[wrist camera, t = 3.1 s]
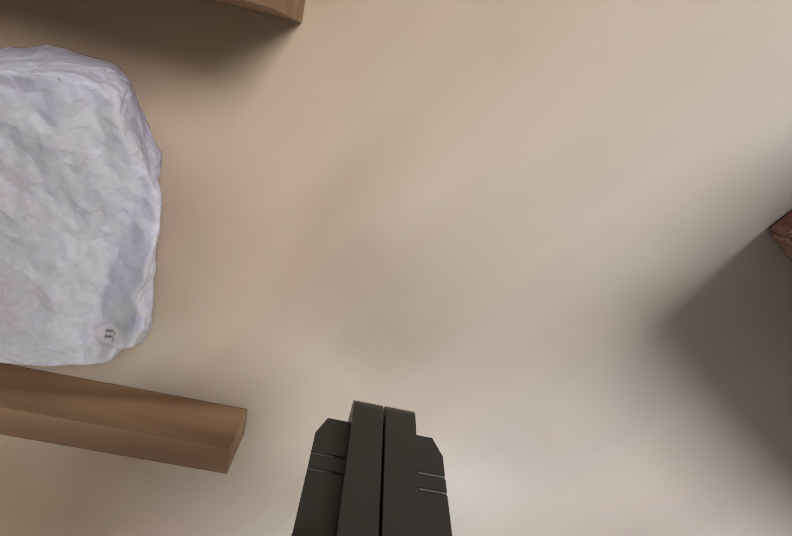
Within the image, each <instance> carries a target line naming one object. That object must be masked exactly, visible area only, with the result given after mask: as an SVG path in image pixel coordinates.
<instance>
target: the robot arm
mask: <svg viewBox="0 0 792 536" xmlns="http://www.w3.org/2000/svg"><path fill="white" fill-rule="evenodd" d="M444 477H445V473H444V465H443V456H442V455H441V453H440V451H439V449H438V448H437V446H436V444H435V442H434V441H433V439H432V438H429V437H424V436H418V435H416V422H415V413H414V412H411V411H406V410H401V409H396V408H391V407H386V406H385V407H384V409H383V406H380V405H375V404H370V403H365V402H360V401H355V400H354V401H353V405H352V408H351V412H350V416H349V420H348V422H345V421H340V420H335V419H330V418H328V419H327V420H326V421H325V422H324V423H323V425H322V426H321V427H320V428H319V429H318V430H317V431H316V433H315V438H314V442H313V446H312V451H311V455H310V459H309V464H308V468H307V472H306V477H305V481H304V486H303V490H302V494H301V499H300V503H299V507H298V512H297V516H296V520H295V525H294V529H293V533H292V536H452V531H451V522H450V514H449V506H448V498H447V496H446V493H447V489H446V481H445V479H444Z"/></svg>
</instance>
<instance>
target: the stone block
mask: <svg viewBox="0 0 792 536" xmlns="http://www.w3.org/2000/svg"><path fill="white" fill-rule="evenodd" d="M161 157H162V154H161V150H160V148H159V147H158V145H157V143H156V142H155V139H154V137H153V135H152V133H151V130H150V127H149V124H148V122H147V120H146V117H145V114H144V112H143V110H142V108H141V106H140V104H139V102H138V100H137V97H136V94H135V92H134V90H133V87H132V84H131V82H130V80H129V79H128V78H127V76H126V75H125V74H124V73H123V72H122V70H121V69H120V68H119V67H118V66H117V65H116V64H114V63H110V62H108V61H105V60H103V59H98V58H91V57H88V56H85V55H81V54H79V53H76V52H73V51H71V50H69V49H66V48H60V47H56V46H52V45H48V44H45V45H43V46H33V47H26V48H14V47H12V46H8V47H5V48H2V49H0V363H13V364H21V365H34V366H65V365H90V364H97V363H104V362H107V361H110V360H112V359H113V358H115V357H116V356H117V355H118V354H119V353H120V352H121V351H122V350H123V349H130V348H132V347H133V346H136V345H138V344H141V343H142V342H143V341H144V340H145V339H146V336H147V334H148V333H149V331H150V329H151V326H152V323H153V321H152V308H153V302H154V300H153V289H154V275H155V272H156V259H157V255H156V247H157V243H158V238H159V235H160V213H161V208H162V206H161V204H162V195H161V193H160V187H159V181H158V178H159V175H160V169H161V164H162V160H161Z"/></svg>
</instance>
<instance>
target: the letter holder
mask: <svg viewBox="0 0 792 536" xmlns="http://www.w3.org/2000/svg"><path fill="white" fill-rule="evenodd" d="M769 232H770V234H771V236H772V237H773V238H774V239H775V241H776V242H777V243H778V244H779V245H780V247H781V248H782V249H783V251H784V252H785V253H786V255H787V257H788V258H789V259H790V260H791V261H792V211H790V212H789V213H788V214H787V215H785V216H784V217H782V218H781V219H780V220H778V221H777V222H776V223H775V224H773V225H772V226H771V228H770V229H769Z"/></svg>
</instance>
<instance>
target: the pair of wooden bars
mask: <svg viewBox="0 0 792 536" xmlns="http://www.w3.org/2000/svg"><path fill="white" fill-rule="evenodd" d="M217 1H221V2H225V3H229V4H232V5H236V6H240V7H244V8H247V9H251V10H255V11H259V12H262V13H266V14H270V15H274V16H277V17H281V18H285V19H289V20H292V21H296V22H300V23H302V18H303V11H304V4H305V0H217ZM246 415H247V409H242V408H236V407H231V406H226V405H220V404H215V403H210V402H204V401H199V400H194V399H188V398H183V397H178V396H172V395H167V394H162V393H157V392H151V391H146V390H141V389H135V388H130V387H125V386H119V385H114V384H109V383H103V382H98V381H93V380H87V379H82V378H77V377H72V376H66V375H61V374H56V373H50V372H45V371H40V370H34V369H29V368H24V367H18V366H13V365H8V364H2V363H0V434H3V435H9V436H14V437H20V438H26V439H31V440H37V441H43V442H49V443H54V444H60V445H66V446H71V447H77V448H83V449H88V450H94V451H100V452H106V453H111V454H117V455H123V456H128V457H134V458H140V459H146V460H151V461H157V462H163V463H168V464H174V465H180V466H186V467H191V468H197V469H203V470H208V471H214V472H220V473H226V474H227V472H228V470H229V467H230V465H231V462H232V460H233V458H234V455H235V453H236V451H237V448H238V446H239V444H240V441H241V439H242V437H243V434H244V430H245V422H246Z"/></svg>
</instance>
